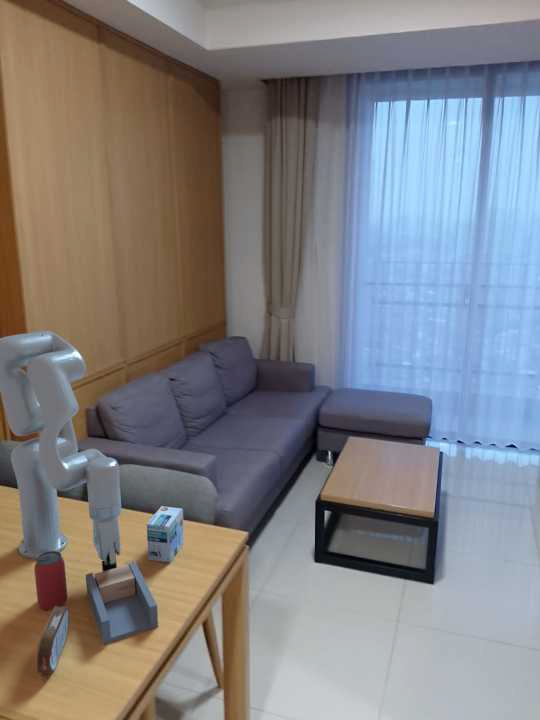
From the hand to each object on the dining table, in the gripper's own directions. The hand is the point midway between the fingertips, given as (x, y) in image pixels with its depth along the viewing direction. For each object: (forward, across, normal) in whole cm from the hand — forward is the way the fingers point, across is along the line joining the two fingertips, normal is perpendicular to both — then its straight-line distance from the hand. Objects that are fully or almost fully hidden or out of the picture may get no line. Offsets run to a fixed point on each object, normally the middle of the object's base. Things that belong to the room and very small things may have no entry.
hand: (110, 575), depth 140 cm
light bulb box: (+3, -7, +17) cm, 19 cm away
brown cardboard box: (+1, +6, 0) cm, 6 cm away
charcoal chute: (+2, +12, 0) cm, 12 cm away
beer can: (+2, +1, -14) cm, 14 cm away
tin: (+3, +20, -16) cm, 25 cm away
